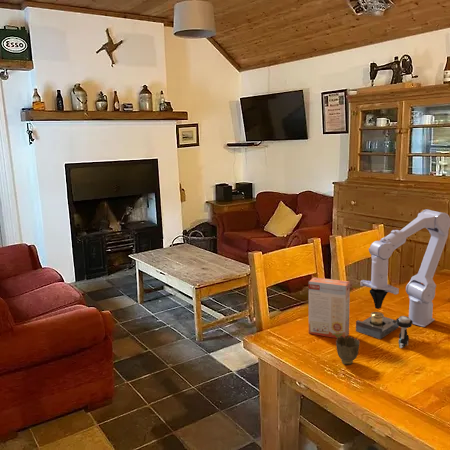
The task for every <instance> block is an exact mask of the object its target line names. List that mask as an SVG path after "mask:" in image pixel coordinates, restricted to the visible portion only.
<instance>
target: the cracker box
mask: <svg viewBox="0 0 450 450" xmlns="http://www.w3.org/2000/svg"><path fill="white" fill-rule="evenodd" d="M350 282H351V281H349V280H348V281H347V280H341V279H340V280H339V279H331V278H322V277H315V276H314V277H312V278H311V279H310V280H309V281H308V334H310V335H316V336H317V335H318V336H322V337H328V338H333V339H337V338H338V337H339V338H340V336H343V337H344V338H345V336H347V337H349V336H350V335H349V334H350V299H351V298H350V291H351V290H350V289H351V287H350V285H351V283H350Z"/></svg>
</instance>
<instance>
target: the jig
mask: <svg viewBox="0 0 450 450" xmlns="http://www.w3.org/2000/svg"><path fill="white" fill-rule="evenodd" d="M371 320H372V316H371V315H370V316H368V317H367V318H366V319H364V320H359V319H358V320H356V321H355V332H357V333H361V334H364V335H367V336H369V337H373V338H376V339H377V340H378V339H379V340H381V339H383V338H384V337H386V336H387V335H389V334H391V333H392V332H394V331H396V330H397V329H398V328H399V329H400V326H398V325H397V322H396V319H393V318H391V317H386V316H384V317H383V323H382V326H375V325H372V324H371Z"/></svg>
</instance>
